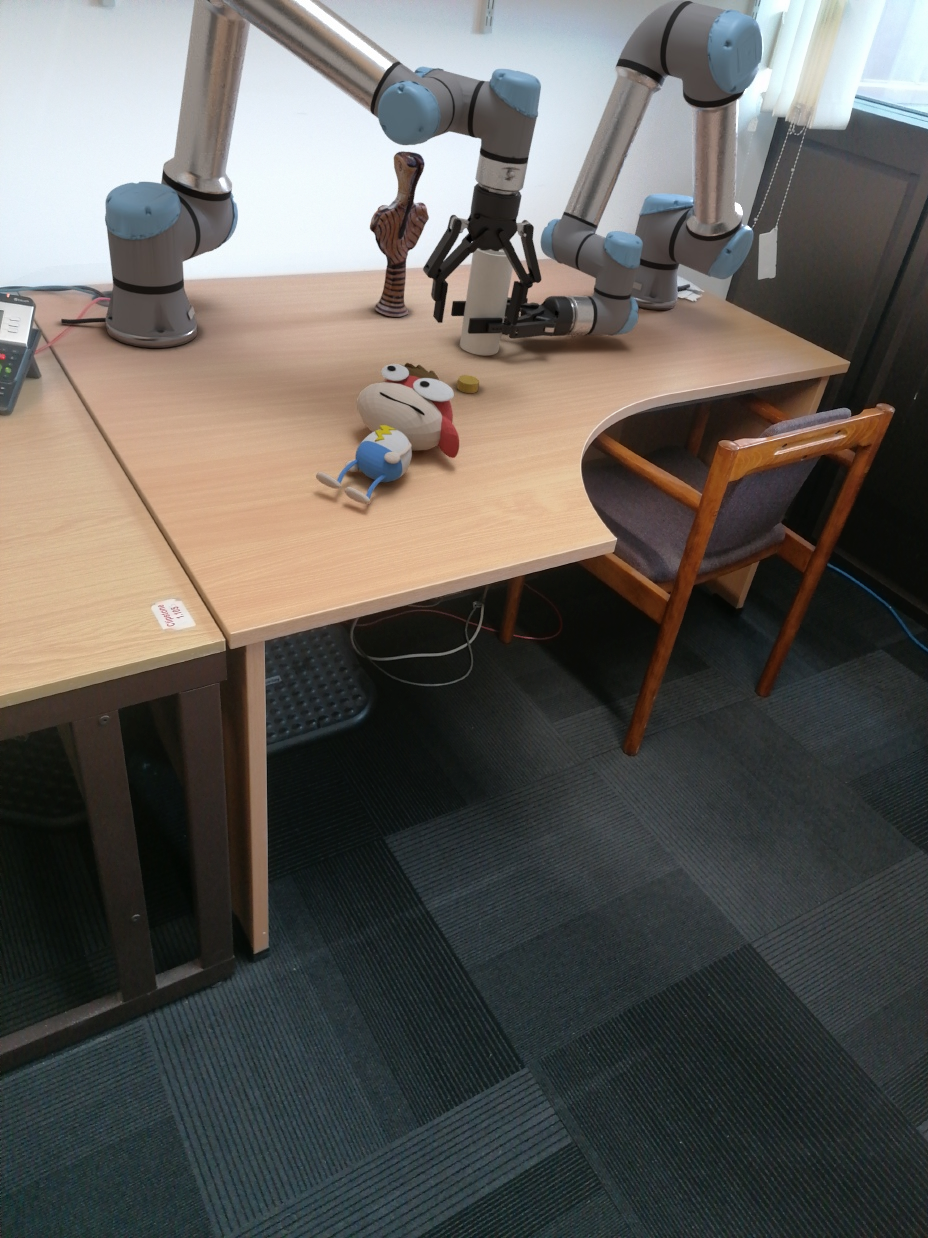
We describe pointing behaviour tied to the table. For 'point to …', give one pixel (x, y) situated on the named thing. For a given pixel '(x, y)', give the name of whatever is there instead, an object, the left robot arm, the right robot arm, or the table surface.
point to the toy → (399, 425)
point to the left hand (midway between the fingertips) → (475, 320)
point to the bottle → (486, 298)
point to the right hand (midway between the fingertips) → (461, 316)
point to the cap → (468, 384)
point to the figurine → (399, 231)
